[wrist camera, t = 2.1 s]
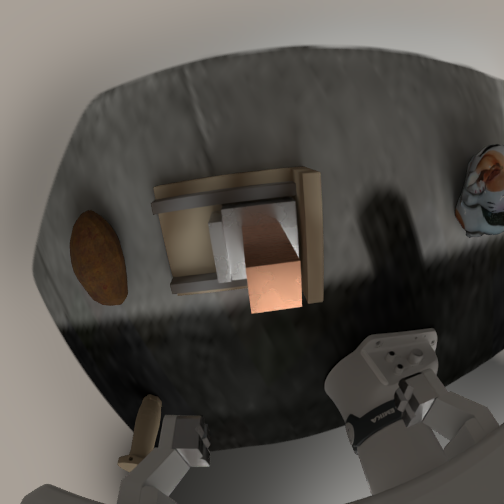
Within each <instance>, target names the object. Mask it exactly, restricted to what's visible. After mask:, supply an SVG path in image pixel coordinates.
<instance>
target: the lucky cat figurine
mask: <svg viewBox="0 0 504 504" xmlns="http://www.w3.org/2000/svg"><path fill="white" fill-rule="evenodd" d="M455 216H456V218H457V219H458V221H459V223H460V224H461V226H462V228H463V229H465V231H466V236H467V237H469V238H470V237H480V236H482V235H483V234H486V235H496V234H500V233H502V232H504V145H499V144H496V145H488V146H486V147H484V148H483V149H482V150H481V151H480V152H479V153H478V154H477V155H475V156H473V157H472V159H471V161H470V162H469V163H468V169H467V175H466V179H465V183H464V187H463V190H462V194H461V196H460V198H459V200H458V203H457V206H456V209H455Z"/></svg>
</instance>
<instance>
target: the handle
mask: <svg viewBox="0 0 504 504" xmlns="http://www.w3.org/2000/svg"><path fill="white" fill-rule="evenodd" d="M142 402H143V403H142V404H141V406H140V409H139V412H138V415H137V418H136V422H135V428H134V435H133V440H132V446H131V451H130V454H129V455H126V456H122V457H119V460H118V466H120V467H121V468H122V469H124V470H126V471H128V472H131V471H132V470H133V469H134V468H135V467H136V466H137V465H138V464H139V463H140V462H141V461H142V460H143V459H144V458H145V457H146V456H147V455H148V454H149V453H150V452H151V451H152V450H153V448H154V444H155V440H156V436H157V432H158V429H159V424H160V417H161V406H162V401H161V400H160V399H159V397H158V396H153V395H151V394H149V395H147V396H146V397H144V399H143V401H142Z"/></svg>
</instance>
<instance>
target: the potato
mask: <svg viewBox="0 0 504 504" xmlns="http://www.w3.org/2000/svg"><path fill="white" fill-rule="evenodd" d="M70 256H71V263H72V267H73V270H74V273H75V275H76V277H77V279H78V280H79V282H80V283H81V284H82V286H83V287H84V288H85V290H86V291H87V292H88V294H89V295H90V296H91V297H92V299H93V300H94V301H97V302H98V303H100V304H102V305H109V306H111V305H120V304H122V303H123V302H124V300H125V299H126V297H127V295H128V287H127V274H126V266H125V260H124V256H123V252H122V249H121V245H120V242H119V239H118V237H117V235H116V233H115V231H114V230H113V228H112V227H111V226H110V225H109V223H108V222H107V221H106V220H105V219H104V218H103V217H102V216H100V215H99V214H97V213H95V212H94V211H92V210H88V211H86V212H84V213H82V214H81V215H80V216H79V218H78V219H77V221H76V223H75V224H74V226H73V230H72V235H71V240H70Z"/></svg>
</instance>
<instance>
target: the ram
mask: <svg viewBox="0 0 504 504" xmlns="http://www.w3.org/2000/svg"><path fill="white" fill-rule="evenodd" d="M208 227H209V233H210V238H211V244H212V250H213V255H214V261H215V266H216V272H217V277H218V282H219V283H225V282H231V277H232V280H239V279H247V283H248V290H249V297H250V305H251V312H252V313H260V312H267V311H274V310H282V309H288V308H295V307H302V288H301V261H300V259H299V249H298V231H297V215H296V201H295V200H294V199H293V198H292V197H291V196H284V197H275V198H266V199H257V200H249V201H241V202H233V203H226V204H222V208H221V211H214V212H212V213H211V216H210V219H209V222H208Z"/></svg>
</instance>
